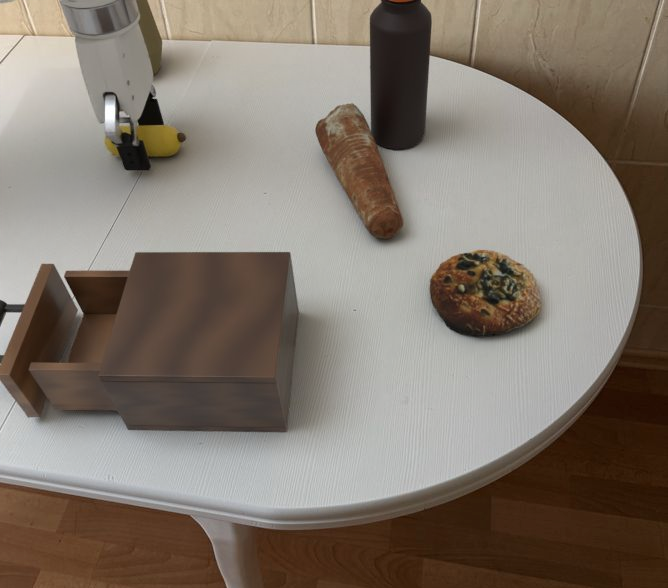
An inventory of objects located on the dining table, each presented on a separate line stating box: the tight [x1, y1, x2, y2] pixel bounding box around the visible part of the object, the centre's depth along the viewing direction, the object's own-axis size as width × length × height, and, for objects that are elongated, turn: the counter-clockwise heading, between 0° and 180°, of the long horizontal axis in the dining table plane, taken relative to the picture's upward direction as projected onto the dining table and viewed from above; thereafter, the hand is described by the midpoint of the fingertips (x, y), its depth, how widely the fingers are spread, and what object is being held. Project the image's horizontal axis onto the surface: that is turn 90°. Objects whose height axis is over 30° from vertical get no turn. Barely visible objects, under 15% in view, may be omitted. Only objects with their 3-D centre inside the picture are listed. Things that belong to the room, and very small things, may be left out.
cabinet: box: [98, 251, 300, 433], centre depth 64 cm, size 15×14×9 cm
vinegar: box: [369, 0, 433, 150], centre depth 80 cm, size 7×7×20 cm
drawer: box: [0, 263, 130, 418], centre depth 65 cm, size 18×13×7 cm
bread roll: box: [428, 249, 542, 337], centre depth 70 cm, size 11×11×5 cm
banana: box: [104, 124, 187, 158], centre depth 87 cm, size 10×4×4 cm, turn 87°
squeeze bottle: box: [136, 0, 163, 76], centre depth 93 cm, size 8×8×18 cm
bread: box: [314, 102, 404, 239], centre depth 80 cm, size 6×19×6 cm, turn 14°
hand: (145, 147), depth 88 cm, fingers open, 7 cm apart
